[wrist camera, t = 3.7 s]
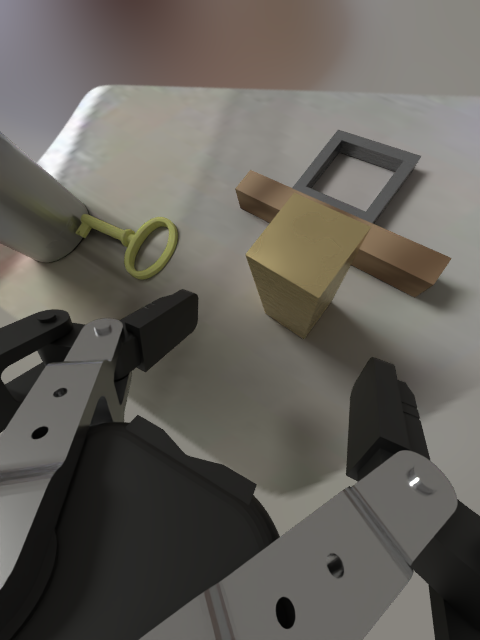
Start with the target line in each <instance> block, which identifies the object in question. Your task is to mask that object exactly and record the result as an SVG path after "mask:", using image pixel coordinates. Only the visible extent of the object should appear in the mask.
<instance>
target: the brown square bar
mask: <svg viewBox="0 0 480 640" xmlns="http://www.w3.org/2000/svg"><path fill="white" fill-rule="evenodd" d="M235 190H236V193H237V197H238V200H239V204H240V208H242V209H244V210H246V211H248V212H250V213H251V214H253V215H255V216H257V217H259V218H261V219H263V220H265V221H267V222H269V223H271V221H272V220H273V219H274V218H275V216H276V215H277V214H278V212H279V211H280V210H281V209H282V207H283V206H284V205H285V203H286V202H287V201H288V200H289V198H290V197H291V196H292V195H293V193H297V194H299V195H301V196H303V197H306V198H308V199H310V200H312V201H315V202H317V203H319V204H321V205H324V206H326V207H328V208H330V209H333V210H335V211H337V212H339V213H342V214H344V215H346V216H348V217H351V218H353V219H355V220H357V221H360V222H362V223H364V224H366V225H369V226H371V228H370V230H369V232H368V234H367V236H366V238H365V239H364V241H363V243H362V245H361V247H360V249H359V251H358V253H357V254H356V256H355V258H354V260H353V262H352V264H351V265H353V266H354V267H356V268H358V269H360V270H362V271H364V272H366V273H368V274H370V275H372V276H374V277H376V278H378V279H380V280H382V281H384V282H386V283H388V284H389V285H391V286H393V287H395V288H397V289H399V290H401V291H403V292H405V293H407V294H409V295H411V296H413V297H416V296H418V295H419V294H421V293H422V292H424V291H425V290H427V289H428V288H430V287H431V286H433V285H434V283H435V282H436V280H437V279H438V278H439V276H440V275H441V273H442V272H443V270H444V269H445V267H446V266H447V264H448V263H449V261H450V260H451V258H450V257H448V256H445V255H443V254H441V253H439V252H436V251H434V250H432V249H429V248H427V247H425V246H423V245H420V244H418V243H416V242H413V241H411V240H409V239H407V238H404V237H402V236H400V235H397V234H395V233H393V232H391V231H388V230H386V229H384V228H382V227H379V226H377V225H375V224H372V223H370V222H368V221H366V220H363V219H361V218H359V217H356V216H354V215H352V214H350V213H347V212H345V211H343V210H340V209H338V208H336V207H334V206H331V205H329V204H327V203H325V202H322V201H320V200H318V199H315V198H313V197H311V196H309V195H306V194H304V193H302V192H299V191H297V190H295V189H293V188H290V187H288V186H286V185H283V184H281V183H279V182H277V181H274V180H272V179H270V178H267V177H265V176H263V175H261V174H258V173H256V172H254V171H252V170H250V171H249V172H248V174H247V175H246V176H245V177H244V179H243V180H242V181H241V182H240V184H239V185H238V186H237V187H236V188H235Z"/></svg>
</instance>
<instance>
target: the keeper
mask: <svg viewBox="0 0 480 640" xmlns="http://www.w3.org/2000/svg"><path fill="white" fill-rule="evenodd" d="M339 152H341V153H343V154H346V155H349V156H352V157H355V158H358V159H360V160H363V161H366V162H369V163H372V164H375V165H378V166H380V167H383V168H386V169H389V170H392V171H395V173H394V174H393V176H392V177H391V179H390V180H389V181H388V183H387V184H386V185H385V187H384V188H383V189H382V191H381V192H380V193H379V195H378V196H377V197H376V199H375V200H374V202H373V203H372V204H371V206H370V207H369V208H368V210H367V211H366V212H365V211H363V210H360V209H358V208H355V207H353V206H351V205H348V204H346V203H344V202H341V201H339V200H337V199H334V198H332V197H330V196H327V195H325V194H323V193H320V192H318V191H316V190H313V189H311V188H312V186H313V185H314V184H315V182H316V181H317V180H318V179H319V177H320V176H321V175H322V173H323V172H324V171H325V170H326V168H327V167H328V166H329V164H330V163H331V162H332V160H333V159H334V158H335V157H336V155H337V154H338V153H339ZM420 158H421V156H419V155H416V154H413V153H410V152H407V151H404V150H400V149H397V148H394V147H391V146H388V145H385V144H382V143H378V142H375V141H372V140H369V139H366V138H363V137H360V136H356V135H353V134H350V133H347V132H344V131H341V130H338V131H337V132H336V133H335V134H334V136H333V137H332V138H331V139H330V141H329V142H328V143H327V145H326V146H325V147H324V148H323V150H322V151H321V152H320V153H319V155H318V156H317V157H316V159H315V160H314V161H313V162H312V164H311V165H310V166H309V167H308V169H307V170H306V171H305V173H304V174H303V175H302V176H301V178H300V179H299V180H298V181H297V183H296V184H295V185H294V187H293V189H295V190H297V191H299V192H302V193H304V194H306V195H309V196H311V197H313V198H315V199H318V200H320V201H322V202H325V203H327V204H329V205H331V206H334V207H336V208H338V209H340V210H343V211H345V212H347V213H350V214H352V215H354V216H356V217H359V218H361V219H363V220H366V221H368V222H370V223H372V224H374V223H375V221H376V220H377V218H378V217H379V216H380V214H381V213H382V212H383V210H384V209H385V207H386V206H387V205H388V203H389V202H390V201H391V199H392V198H393V197H394V195H395V194H396V192H397V191H398V190H399V188H400V187H401V186H402V184H403V183H404V182H405V180H406V179H407V177H408V176H409V175H410V173H411V172H412V171H413V169H414V168H415V166H416V164H417V163H418V161H419V159H420Z"/></svg>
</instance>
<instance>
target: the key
mask: <svg viewBox="0 0 480 640" xmlns="http://www.w3.org/2000/svg"><path fill="white" fill-rule="evenodd" d="M81 222H82V224H81V225H80V227H79V228H78V230H77V231H76V234H77V235H79V236H82V237H83V238H86V236H87V235H88V233H89V232H90V230H91V229H92V228H94V229H96V230H98V231H100V232H103V233H105V234H107V235H109V236H112V237H114V238H116V239H118V240H121V243H122V244H123V245H124V246H126V247H127V250H126V253H125V258H124V264H125V268H126V270H127V271H128V272H129V273H130V274H131V275H132V276H133V277H135V278H137V279H147V278H150V277H152V276H154V275H155V274H157V273H158V272H159V271H160V270H161V269H162V268H163V267H164V266H165V265H166V264H167V262H168V261H169V259H170V258H171V256H172V254H173V252H174V250H175V248H176V245H177V240H178V232H177V228H176V226H175V225H174V224H173V223H172V222H171V221H170V220H168V219H167V218H164V217H156V218H153V219H150V220H149V221H147V222H146V223H144V224H143V225H142V226H141V227H140V228H139V230H138V231H137V232H136V233H135V232H134V231H132V230H131V229H126V230H122V229H120V228H117V227H115V226H113V225H111V224H108V223H106V222H104V221H101V220H99V219H97V218H94V217H92V216H90V215H88V214H83V215H82V216H81ZM162 226H164V227H168V229H169V238H168V243H167V246H166V248H165V250H164V252H163V254H162V255H161V257H160V258H159V259H158V260H157V261H156V262H155V263H154V264H153V265H152V266H150V267H149V268H147V269H145V270H143V271H136V270H135V268H134V263H135V258H136V255H137V252H138V250H139V248H140V247H141V245H142V243H143V242H144V240H145V239H146V238H147V236H148V235H149V234H150V233H151V232H152V231H154V230H155V229H156V228H158V227H162Z"/></svg>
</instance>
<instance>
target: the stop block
mask: <svg viewBox="0 0 480 640" xmlns="http://www.w3.org/2000/svg"><path fill="white" fill-rule="evenodd" d="M370 228H371V226H369V225H366V224H364V223H362V222H360V221H357V220H355V219H353V218H351V217H348V216H346V215H344V214H342V213H339V212H337V211H335V210H333V209H330V208H328V207H326V206H324V205H321V204H319V203H317V202H315V201H312V200H310V199H308V198H306V197H303V196H301V195H299V194H297V193H293V195H292V196H291V197H290V198H289V200H288V201H287V202H286V203H285V205H284V206H283V207H282V209H281V210H280V211H279V212H278V214H277V215H276V216H275V218H274V219H273V220H272V221H271V223H270V224H269V225H268V226H267V228H266V229H265V230H264V232H263V233H262V234H261V235H260V237H259V238H258V239H257V241H256V242H255V243H254V244H253V246H252V247H251V248H250V249H249V251H248V252H247V253H246V258H247V261H248V264H249V266H250V269H251V272H252V275H253V278H254V281H255V284H256V287H257V290H258V293H259V296H260V298H261V301H262V304H263V307H264V310H265V313H266V314H267V315H269V316H270V317H272V318H273V319H275V320H276V321H278V322H279V323H280V324H282V325H283V326H285V327H286V328H288V329H289V330H291V331H292V332H294V333H295V334H297V335H298V336H300V337H301V338H303V339H305V337H306V336H307V335H308V333H309V332H310V331H311V329H312V328H313V326H314V325H315V324H316V322H317V321H318V320H319V318H320V317H321V315H322V314H323V313H324V311H325V310H326V308H327V307H328V306H329V304H330V303H331V301H332V300H333V298H334V296H335V294H336V292H337V290H338V288H339V286H340V285H341V283H342V281H343V279H344V277H345V275H346V273H347V271H348V269H349V268H350V266H351V264H352V262H353V260H354V258H355V256H356V254H357V253H358V251H359V249H360V247H361V245H362V243H363V241H364V239H365V238H366V236H367V234H368V232H369V230H370Z"/></svg>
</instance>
